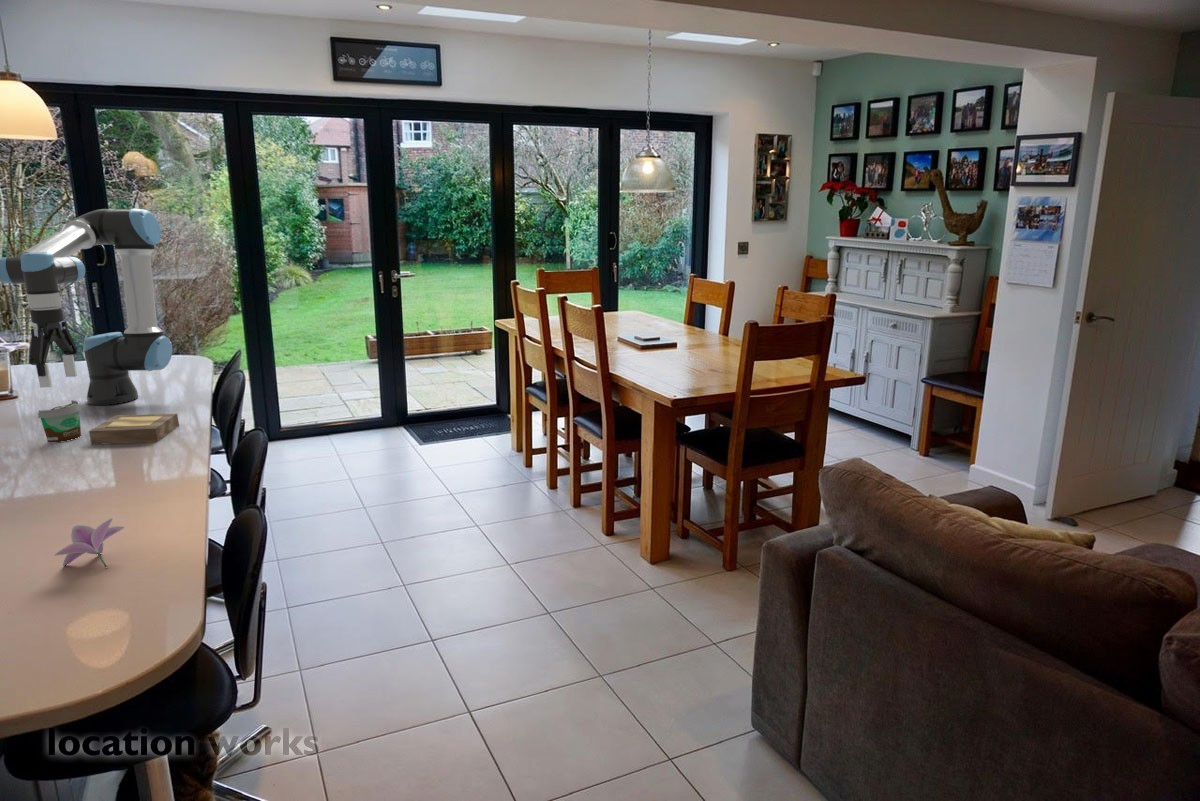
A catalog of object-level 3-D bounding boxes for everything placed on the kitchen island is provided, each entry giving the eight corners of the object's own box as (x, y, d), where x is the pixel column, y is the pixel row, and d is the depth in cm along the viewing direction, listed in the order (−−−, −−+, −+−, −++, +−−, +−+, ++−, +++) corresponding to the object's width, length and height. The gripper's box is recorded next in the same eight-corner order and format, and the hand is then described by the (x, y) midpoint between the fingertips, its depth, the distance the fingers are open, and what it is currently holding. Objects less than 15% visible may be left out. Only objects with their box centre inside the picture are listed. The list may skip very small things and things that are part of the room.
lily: (140, 552, 160) (115, 511, 159) (135, 553, 150) (108, 509, 149) (77, 585, 155) (51, 543, 154) (67, 588, 144) (39, 543, 143)
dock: (117, 428, 241) (115, 415, 240) (179, 425, 243) (177, 412, 242) (91, 444, 225) (88, 430, 224) (157, 441, 227) (155, 427, 226)
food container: (61, 445, 224) (55, 412, 222) (43, 444, 226) (36, 410, 223) (96, 432, 236) (90, 400, 234) (79, 431, 237) (73, 399, 235)
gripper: (55, 302, 232) (68, 372, 238) (4, 314, 208) (19, 392, 214) (82, 302, 233) (94, 372, 239) (34, 314, 209) (49, 391, 215)
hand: (59, 381), depth 226 cm, fingers open, 13 cm apart
